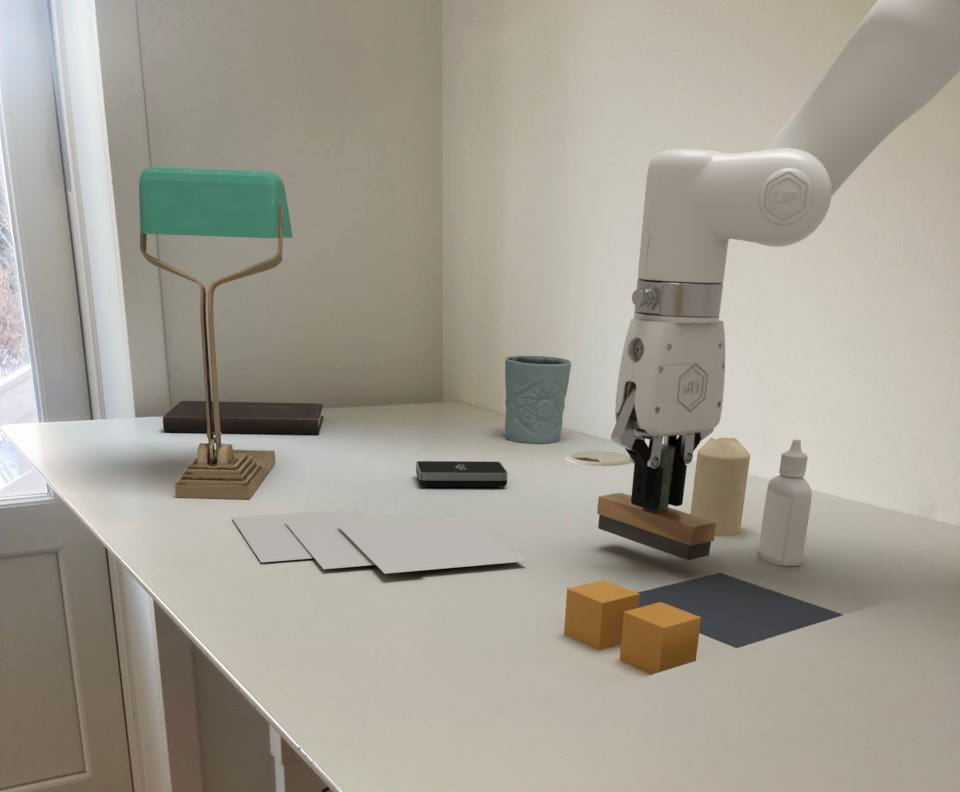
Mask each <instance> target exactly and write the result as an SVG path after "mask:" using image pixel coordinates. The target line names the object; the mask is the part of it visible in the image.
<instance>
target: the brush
mask: <svg viewBox="0 0 960 792" xmlns="http://www.w3.org/2000/svg"><path fill="white" fill-rule="evenodd" d="M674 455H675V447H674V446H671V445H665V444H664V443H662V449H661V456H660V463H659V466H658V467H660V468H663V480H662V489H661V498H660V507H659V508H658V509H657V510H649V509H646V508H643V507H640V506H637V505H633V504H632V502H631V495H630V494H627V493H623V492H616V493H612V494H610V493H609V494H605V495H599V496H598V499H597V500H598V502H597V510H596V512H597V515H598V525H597V529H598V530H601V531H603V532H607V533H610V534H613V535H616V536H618V537H621V538H623V539H625V540H626V539H627V540H629V541H632V542H634V543H638V544H640V545H644V546H646V547H648V548H652V549H654V550H657V551H660V552H664V553H666V554H667V555H671V556H674V557H677V558H680V559H682V560H684V561H685V560H686V561H691V560H697V559H701V558H705V557H709V556H710V552H711V545H712V542H714V541H715V536H716V535H715V528H716V522H713V521H710V520H707V519H704V518H701V517H697V516H694V515H691V513H688V512H684V511H681V510H678V509H676V508H671V507H669V506H670V504H669V497H670V489H671V481H672V472H673V464H674Z"/></svg>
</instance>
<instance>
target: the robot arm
mask: <svg viewBox="0 0 960 792" xmlns="http://www.w3.org/2000/svg"><path fill="white" fill-rule="evenodd" d="M959 72H960V0H877V1H876V2H875V3H874V5H873V6H872V7H871V8H870V10H869V11H868V12H867V13H866V14H865V16H864V18H863V19H862V20H861V21H860V23H859V24H858V25H857V27H856V28H855V30H853V32H852V33H851V35H850V37H848V39H847V40H846V43H845V44H844V46H843V48H842V49H841V50H840V52H839V54H838V55H837V57H836V58H835V60H834V61H833V62H832V64H831V65H830V67H829V68H828V69H827V71H826V72H825V73H824V75H823V76H822V77H821V78H820V80H819V81H818V83H817V84H816V85H815V86H814V88H813V89H812V90H811V92H810V93H809V94H808V95H807V97H806V98H805V99H804V100H803V102H802V103H801V104H800V105H799V106H798V107H797V108H796V110H795V111H794V113H793V114H792V115H791V116H790V117H789V119H788V120H787V121H786V122H785V123H784V125H783V126H782V127H781V128H780V129H779V131H778V132H777V133H776V134H775V136H773V138H772V139H771V140H770V142H769V143H768V144H767V145H766V146H765V148H764V149H763V150H757V151H748V152H734V153H733V152H732V153H731V152H730V153H726V152H723V151H719V150H712V149H699V148H675V149H667V150H663V151H660V152H658V153H656V154H655V155H654V156H653V157H652V158H651V160H650V161H649V163H648V167H647V174H646V182H645V193H644V205H643V214H642V226H641V236H640V237H641V238H640V248H639V261H638V267H637V268H638V269H637V281H636V289H635V290H634V291H633V293H632V294H631V302H632V304H633V305H634V311H633V312H634V313H633V318H630V321H629V324H628V328H627V332H626V336H625V340H624V345H623V348H622V349H623V350H622V354H621V359H620V365H619V371H618V372H619V373H618V378H617V386H616V395H615V407H614V408H615V412H614V414H615V415H614V416H615V425H614V427H613V430H612V432H611V434H610V440H611V442H613V443H615V444H616V445H618V446H620V447H622V448H624V450H625V451H626V452H627V454H628V455H629V462H630V463H631V464H633V465H634V466H633V474H632V475H633V476H632V477H633V478H632V487H631V495H630V496H631V502H632V504H633V505H637V506H640V507H643V508H646V509H649V510H657V509H658V508H659V507H660V498H661V489H662V480H663V468H660V467H658V466H659V463H660V456H661V449H662V444H665V445H671V446H674V447H675V455H674V464H673V472H672V481H671V489H670V497H669V506H674V507H679V506H682V505H683V501H684V493H685V486H686V479H687V478H686V477H687V468H688V465H689V464H691V463H692V461H693V459H694V452H695V450H696V448H697V447H698V446H699V445H700V443H701V442H702V441H703V440H704V439H706V438H707V437H709V436H710V435H711V434H713V432H714V429H715V428H716V427H717V426H718V425H719V423H720V421H721V417H722V411H723V403H724V394H725V393H724V391H725V377H726V335H725V325H724V324H725V323H724V320H721V319H720V315H721V306H722V297H723V288H724V284H723V283H724V280H725V271H726V263H727V256H728V255H727V254H728V248H729V241H730V240H737V241H744V242H748V243H754V244H758V245H760V246H767V247H772V248H773V247H774V248H777V247H788V246H792V245H795V244H797V243H800V242H802V241H804V240H805V239H806V238H808V237H809V236H810V235H812V234H813V233H815V231H816V230H817V229H818V228H819V227H820V226H821V224H822V223H823V221H824V220H825V218H826V216H827V214H828V212H829V209H830V206H831V201H832V197H833V196H834V195H835V194H836V193H837V191H838V190H839V189H840V188H841V187H842V185H844V183H845V182H846V181H847V180H848V179H849V177H850V176H851V175H852V174H853V173H854V172H855V171H856V170H857V168H859V166H861V164H862V163H863V162H864V161H865V160H866V159H867V158H868V157H869V156H870V154H871V153H873V152H874V150H876V148H877V147H879V145H880V144H881V143H882V142H883V141H884V140H885V139H886V138H887V137H888V136H889V135H891V133H893V132H894V131H895V130H896V129H897V128H899V127H900V126H901V125H902V124H903V123H904V122H906V121H907V120H908V119H909V118H911V117H912V116H914V115H915V114H916V113H917V112H918V111H920V110H922V108H924V107H925V106H926V105H927V104H929V102H930V101H932V100H933V99H934V98H935V97H936V96H937V95H938V94H939V93H940V92H941V91H942V90H943V89H944V88H945V87H946V86H947V85H948V84H949V83H950V82H951V81H952V80H953V79H954V78H955V76H956V75H957V74H958V73H959ZM646 440H649V442H648V444H647V443H646Z"/></svg>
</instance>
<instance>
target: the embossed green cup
mask: <svg viewBox="0 0 960 792" xmlns="http://www.w3.org/2000/svg"><path fill="white" fill-rule="evenodd" d="M571 369H572V361H571V360H569V359H566V358H561V357H555V356H545V355H544V356H543V355H509V356H506V357H505V358H504V382H505V383H504V384H505V401H504V404H505V419H504V420H505V421H504V422H505V423H504V435H505V438H506V439H507V440H508V441H512V442H516V443H523V444H552V443H557V442H559V441H560V439H561V435H562V430H563V429H562V428H563V421H564V420H563V416H564V410H565V407H566V404H565V403H566V396H567V393H568V387H569V382H570V381H569V380H570V374H571Z"/></svg>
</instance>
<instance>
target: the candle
mask: <svg viewBox="0 0 960 792" xmlns="http://www.w3.org/2000/svg"><path fill="white" fill-rule="evenodd" d="M696 454H697V455H696V462H695V472H694V480H693V490H692V496H691V506H690V514H691V515H694V516H697V517H701V518H704V519H707V520H710V521H713V522H716V528H715V535H714V536H719V537H720V536H721V537H723V536H724V537H725V536H726V537H727V536H728V537H729V536H734V535H738V534H739V533H740V532H741V527H742V520H743V515H744V514H743V513H744V505H745V498H746V490H747V482H748V475H749V468H750V461H751V454H750V452H749V451H748V449H747V448H746V447H745V446H744V445H743V444H742V443H741V442H740V441H739V440H738V439H737V438H736V437H723V436H722V437H719V438H713V437H710V438H709V439H708V440H707V441H706V442H705V443H704V444H703V445H702V446H701V447H700V448H699V449H698V450H697V453H696Z"/></svg>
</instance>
